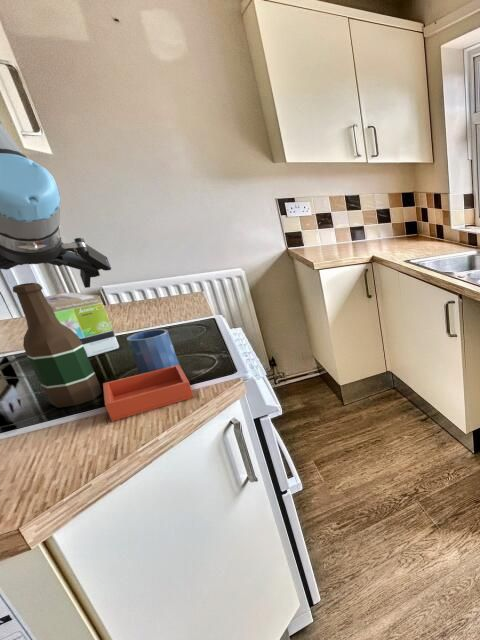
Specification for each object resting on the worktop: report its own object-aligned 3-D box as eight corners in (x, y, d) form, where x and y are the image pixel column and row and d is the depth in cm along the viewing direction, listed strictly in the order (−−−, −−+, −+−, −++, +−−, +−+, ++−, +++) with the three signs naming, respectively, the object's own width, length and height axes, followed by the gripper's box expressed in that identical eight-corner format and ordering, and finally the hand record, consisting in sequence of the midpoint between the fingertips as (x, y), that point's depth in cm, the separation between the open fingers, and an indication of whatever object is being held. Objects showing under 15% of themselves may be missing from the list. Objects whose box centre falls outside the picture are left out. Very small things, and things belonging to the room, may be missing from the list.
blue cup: (141, 375, 96) (125, 335, 92) (178, 366, 100) (165, 327, 97) (144, 385, 91) (127, 342, 88) (183, 375, 96) (169, 334, 92)
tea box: (122, 348, 113) (101, 294, 108) (73, 362, 105) (48, 305, 99) (93, 341, 119) (72, 290, 114) (45, 353, 111) (20, 299, 105)
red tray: (109, 398, 86) (102, 383, 85) (184, 378, 94) (179, 364, 93) (112, 421, 78) (104, 404, 76) (194, 397, 86) (188, 381, 84)
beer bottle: (53, 398, 87) (-1, 284, 78) (104, 386, 91) (58, 277, 83) (48, 412, 81) (-12, 291, 72) (102, 399, 86) (52, 284, 77)
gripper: (-105, 261, 56) (-68, 316, 70) (137, 249, 74) (128, 294, 88) (-124, 210, 56) (-83, 274, 70) (123, 210, 75) (116, 261, 89)
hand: (35, 285), depth 79 cm, fingers open, 13 cm apart
